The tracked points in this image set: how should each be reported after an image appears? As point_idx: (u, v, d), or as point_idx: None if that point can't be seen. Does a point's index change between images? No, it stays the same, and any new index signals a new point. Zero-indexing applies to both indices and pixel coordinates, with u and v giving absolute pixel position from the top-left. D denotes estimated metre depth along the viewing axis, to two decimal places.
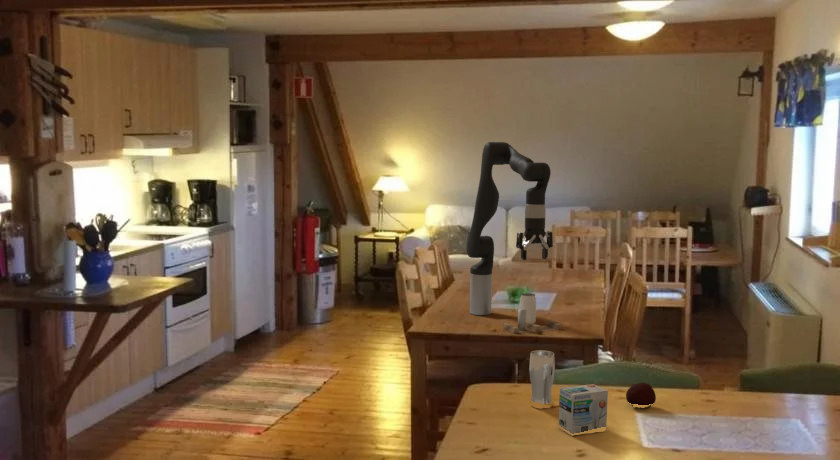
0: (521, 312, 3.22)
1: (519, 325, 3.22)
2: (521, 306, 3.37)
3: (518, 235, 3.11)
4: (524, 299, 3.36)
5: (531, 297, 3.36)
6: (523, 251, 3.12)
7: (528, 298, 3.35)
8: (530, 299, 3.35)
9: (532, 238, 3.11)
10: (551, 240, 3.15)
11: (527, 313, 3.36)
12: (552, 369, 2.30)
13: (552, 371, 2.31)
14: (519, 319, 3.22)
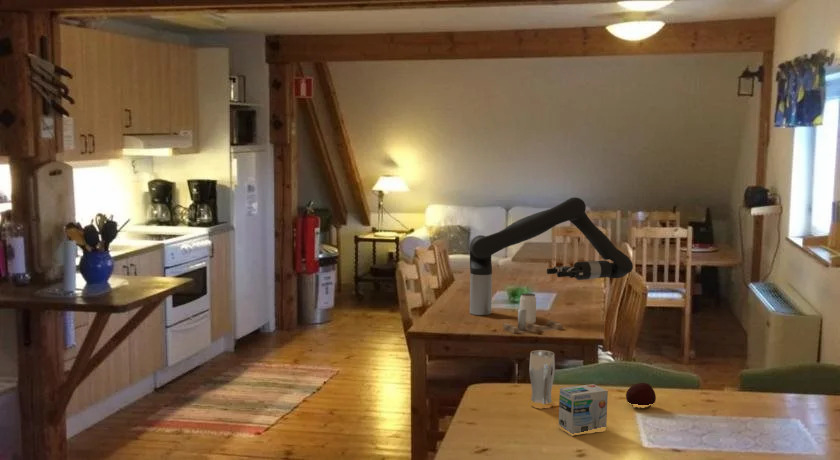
0: (521, 312, 3.22)
1: (519, 325, 3.22)
2: (521, 306, 3.37)
3: (581, 273, 3.38)
4: (524, 299, 3.36)
5: (531, 297, 3.36)
6: (565, 275, 3.37)
7: (528, 298, 3.35)
8: (530, 299, 3.35)
9: None
10: None
11: (527, 313, 3.36)
12: (552, 369, 2.30)
13: (552, 371, 2.31)
14: (519, 319, 3.22)
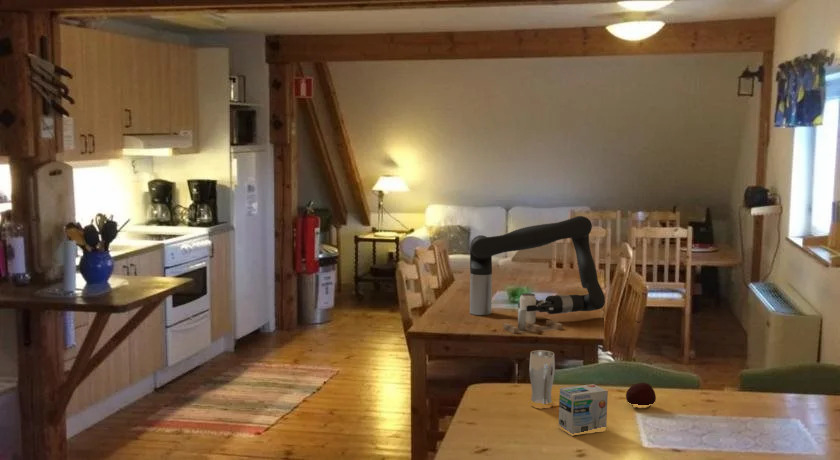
0: (521, 312, 3.22)
1: (519, 325, 3.22)
2: (521, 306, 3.37)
3: (551, 308, 3.35)
4: (523, 299, 3.36)
5: (531, 297, 3.36)
6: (534, 309, 3.35)
7: (528, 298, 3.35)
8: (530, 299, 3.35)
9: None
10: None
11: (527, 313, 3.36)
12: (552, 369, 2.30)
13: (552, 371, 2.31)
14: (519, 319, 3.22)
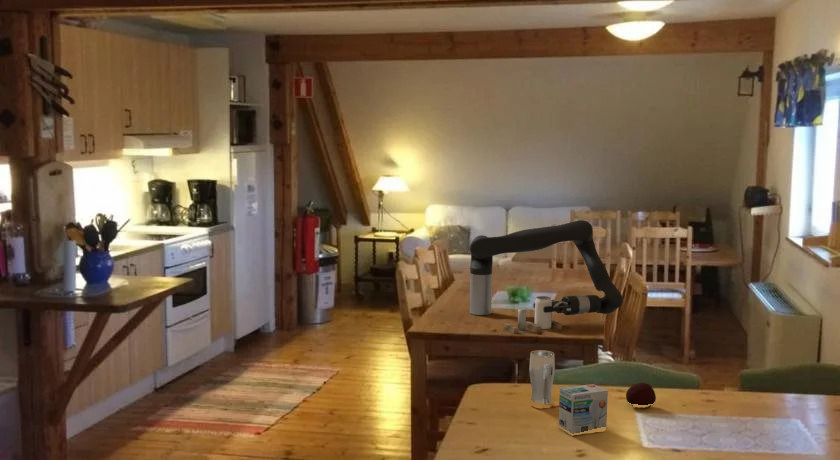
0: (521, 312, 3.22)
1: (519, 325, 3.22)
2: (536, 309, 3.25)
3: (568, 309, 3.23)
4: (539, 302, 3.24)
5: (547, 300, 3.24)
6: (552, 311, 3.23)
7: (544, 301, 3.23)
8: (546, 302, 3.23)
9: None
10: None
11: (543, 317, 3.24)
12: (552, 369, 2.30)
13: (552, 371, 2.31)
14: (519, 319, 3.22)
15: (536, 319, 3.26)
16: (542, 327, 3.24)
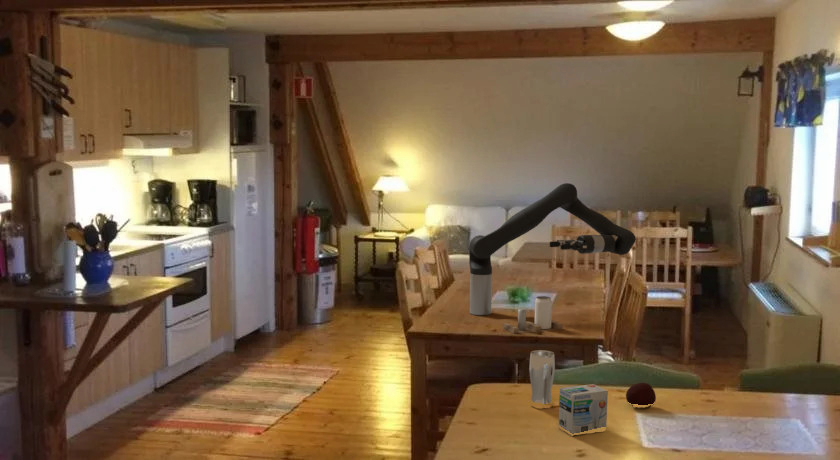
0: (521, 312, 3.22)
1: (519, 325, 3.22)
2: (536, 309, 3.25)
3: (584, 246, 3.32)
4: (539, 302, 3.24)
5: (547, 300, 3.24)
6: None
7: (544, 301, 3.23)
8: (546, 302, 3.23)
9: None
10: None
11: (543, 317, 3.24)
12: (552, 369, 2.30)
13: (552, 371, 2.31)
14: (519, 319, 3.22)
15: (536, 319, 3.26)
16: (542, 327, 3.24)
